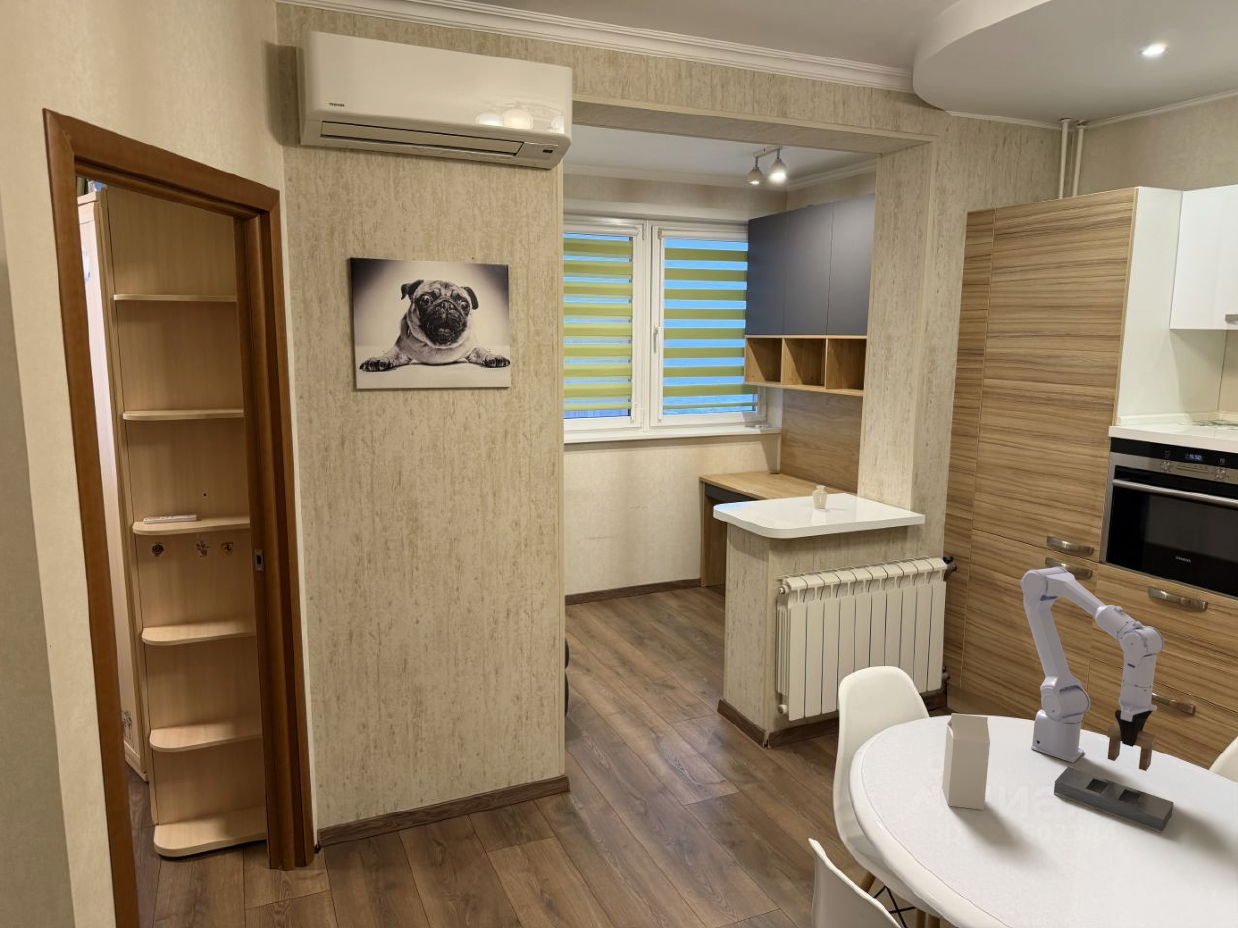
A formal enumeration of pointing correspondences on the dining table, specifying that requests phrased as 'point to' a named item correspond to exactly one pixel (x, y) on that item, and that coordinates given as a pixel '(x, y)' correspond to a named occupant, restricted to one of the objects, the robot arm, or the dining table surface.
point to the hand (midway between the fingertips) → (1130, 741)
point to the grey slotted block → (1114, 799)
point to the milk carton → (966, 761)
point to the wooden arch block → (1143, 741)
